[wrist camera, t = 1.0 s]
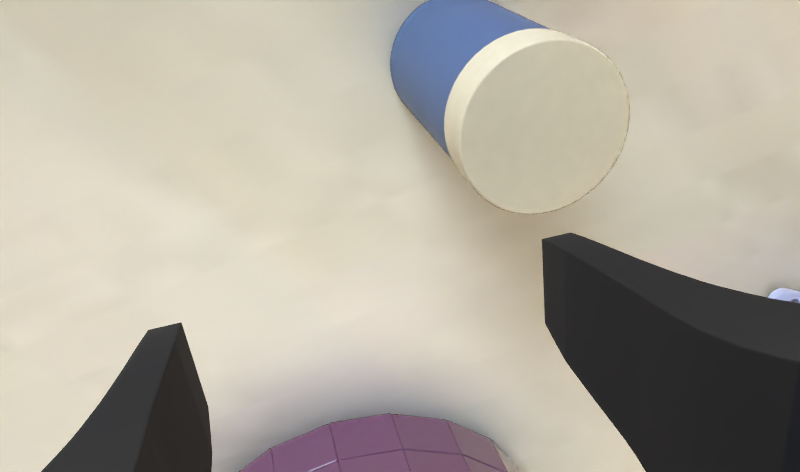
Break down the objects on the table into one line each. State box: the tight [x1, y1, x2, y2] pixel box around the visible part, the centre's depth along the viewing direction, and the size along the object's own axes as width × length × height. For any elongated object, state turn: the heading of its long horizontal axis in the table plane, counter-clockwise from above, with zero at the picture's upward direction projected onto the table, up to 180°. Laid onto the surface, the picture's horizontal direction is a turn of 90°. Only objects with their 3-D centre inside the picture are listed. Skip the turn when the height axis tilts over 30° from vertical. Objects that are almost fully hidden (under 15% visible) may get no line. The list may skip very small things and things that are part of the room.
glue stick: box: [390, 0, 630, 214], centre depth 20 cm, size 4×4×7 cm
